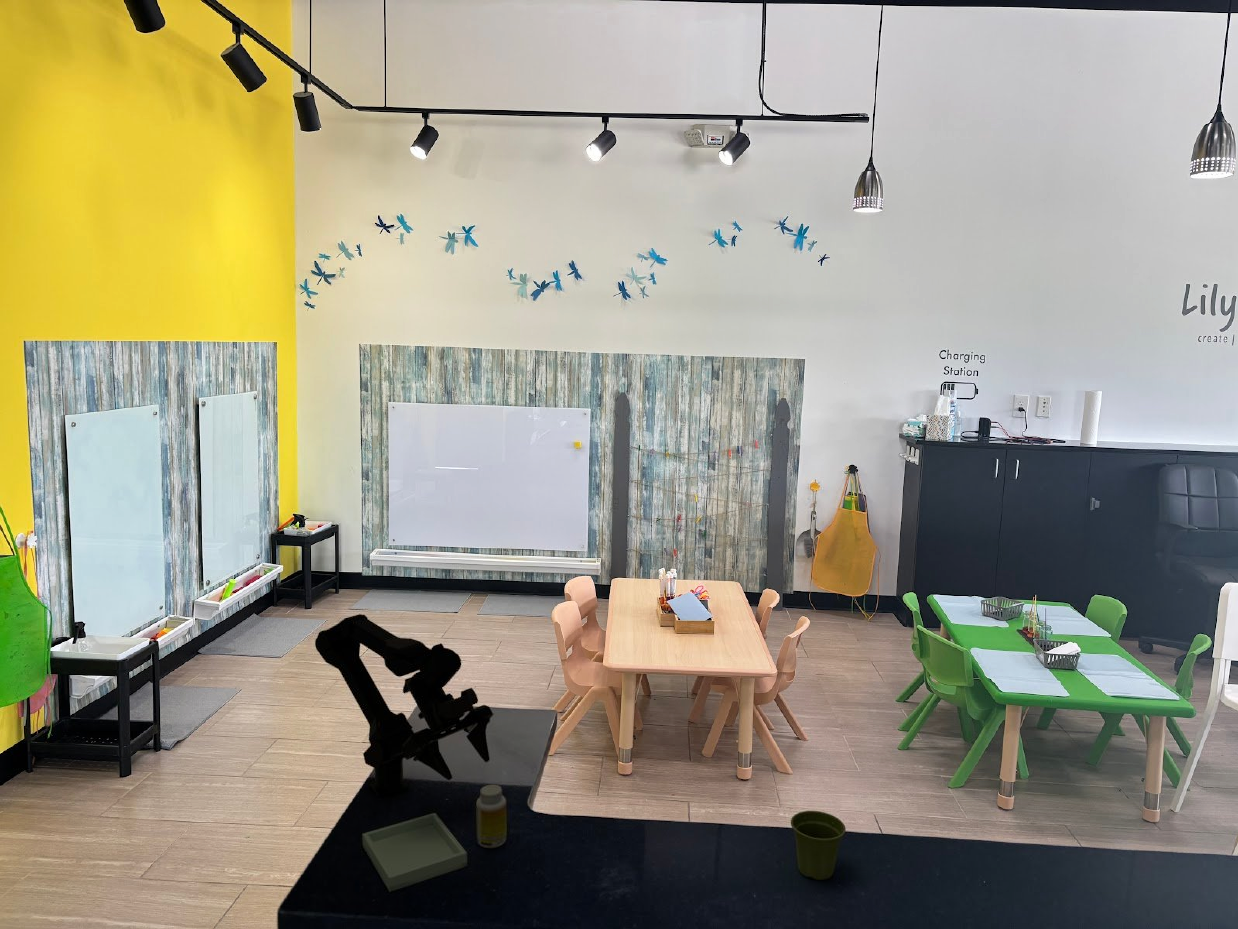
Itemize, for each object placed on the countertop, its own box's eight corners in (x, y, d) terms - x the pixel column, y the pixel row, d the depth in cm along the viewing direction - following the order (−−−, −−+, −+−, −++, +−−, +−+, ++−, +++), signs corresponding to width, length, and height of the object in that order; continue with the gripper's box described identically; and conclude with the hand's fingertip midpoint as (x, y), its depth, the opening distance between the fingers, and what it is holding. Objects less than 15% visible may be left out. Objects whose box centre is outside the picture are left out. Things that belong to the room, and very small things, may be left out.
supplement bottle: (512, 842, 160) (511, 791, 159) (486, 853, 157) (485, 800, 155) (496, 829, 164) (496, 779, 163) (471, 840, 161) (470, 788, 160)
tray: (362, 846, 158) (362, 834, 158) (435, 825, 166) (434, 812, 166) (389, 892, 145) (389, 878, 145) (467, 866, 153) (466, 853, 152)
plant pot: (824, 851, 158) (826, 807, 157) (854, 880, 149) (856, 834, 148) (779, 860, 155) (781, 815, 154) (806, 891, 146) (808, 843, 145)
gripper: (409, 693, 157) (449, 768, 151) (486, 665, 171) (525, 733, 166) (385, 722, 163) (423, 796, 157) (461, 693, 177) (498, 760, 171)
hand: (469, 770), depth 163 cm, fingers open, 9 cm apart
